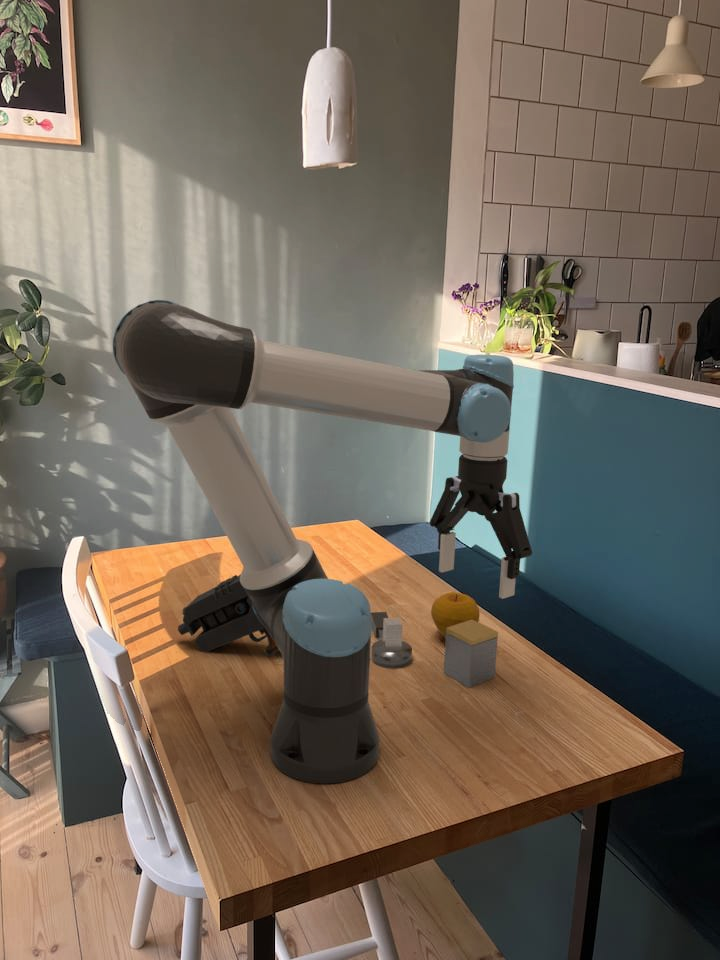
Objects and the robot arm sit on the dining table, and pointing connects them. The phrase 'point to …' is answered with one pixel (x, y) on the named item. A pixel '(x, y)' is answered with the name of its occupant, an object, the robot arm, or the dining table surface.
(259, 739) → the dining table surface
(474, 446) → the robot arm
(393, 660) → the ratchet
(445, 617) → the apple
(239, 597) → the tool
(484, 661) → the lidded square canister
